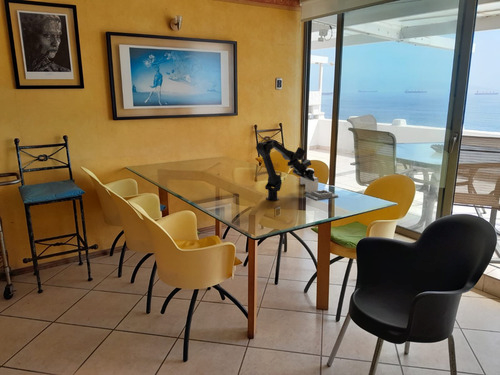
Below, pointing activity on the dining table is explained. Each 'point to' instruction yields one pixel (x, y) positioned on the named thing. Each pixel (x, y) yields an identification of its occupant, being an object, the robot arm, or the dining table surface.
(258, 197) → the dining table surface
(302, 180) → the photo printer
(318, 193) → the socket board
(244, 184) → the dining table surface
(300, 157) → the robot arm
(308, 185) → the plug
